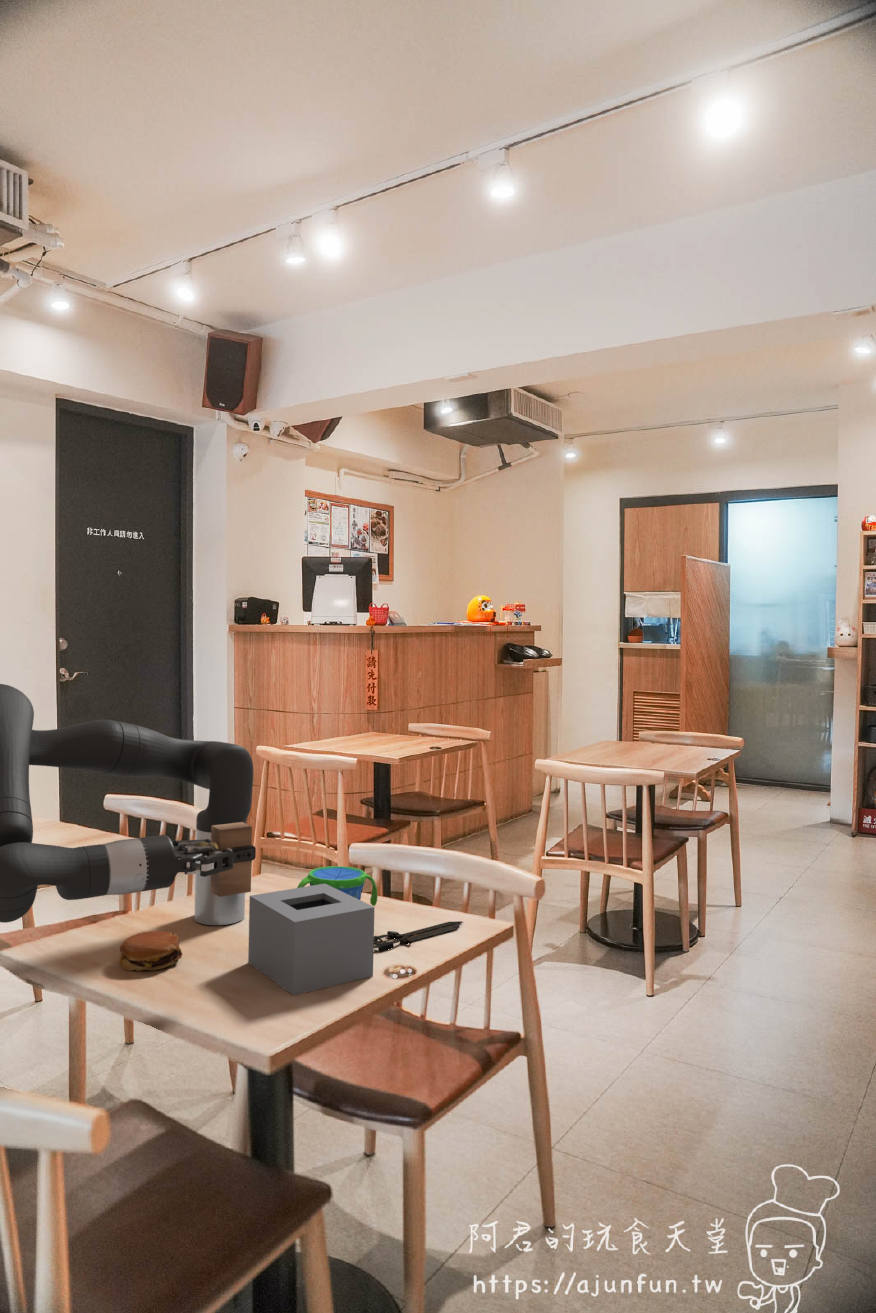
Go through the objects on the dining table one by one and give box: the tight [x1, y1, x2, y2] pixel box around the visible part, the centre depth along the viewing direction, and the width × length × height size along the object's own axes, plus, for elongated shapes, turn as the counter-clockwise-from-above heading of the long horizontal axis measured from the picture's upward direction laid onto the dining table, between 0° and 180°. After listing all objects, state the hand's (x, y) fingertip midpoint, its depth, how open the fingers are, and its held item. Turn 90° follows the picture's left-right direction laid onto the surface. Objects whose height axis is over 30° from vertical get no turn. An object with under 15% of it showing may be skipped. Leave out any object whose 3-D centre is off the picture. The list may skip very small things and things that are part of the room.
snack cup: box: [296, 865, 379, 907], centre depth 163 cm, size 16×10×10 cm
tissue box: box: [247, 884, 375, 996], centre depth 142 cm, size 16×14×11 cm
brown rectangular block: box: [209, 822, 253, 897], centre depth 134 cm, size 4×5×10 cm
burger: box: [118, 930, 183, 972], centre depth 143 cm, size 10×9×5 cm
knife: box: [374, 920, 464, 953], centre depth 159 cm, size 25×6×1 cm, turn 126°
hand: (248, 849), depth 135 cm, fingers closed on brown rectangular block, 3 cm apart
